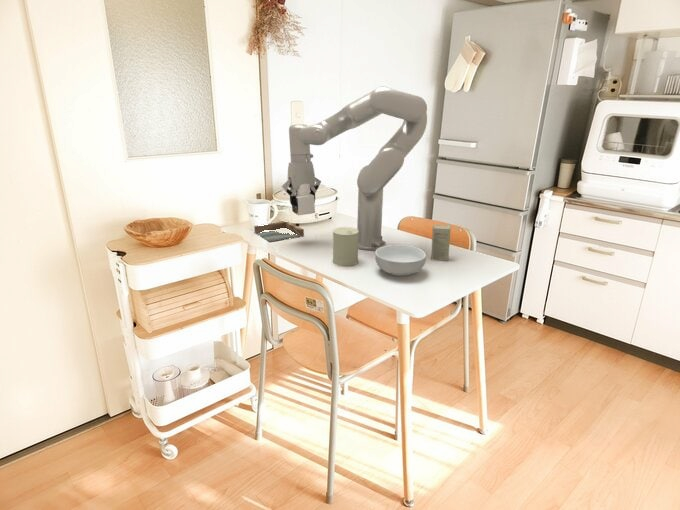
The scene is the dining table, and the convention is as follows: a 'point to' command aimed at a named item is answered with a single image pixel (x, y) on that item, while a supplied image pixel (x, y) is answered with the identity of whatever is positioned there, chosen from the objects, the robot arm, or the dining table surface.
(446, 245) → the skincare box
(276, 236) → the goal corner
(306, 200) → the medicine bottle
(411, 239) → the dining table surface
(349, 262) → the can
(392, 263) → the cereal bowl
